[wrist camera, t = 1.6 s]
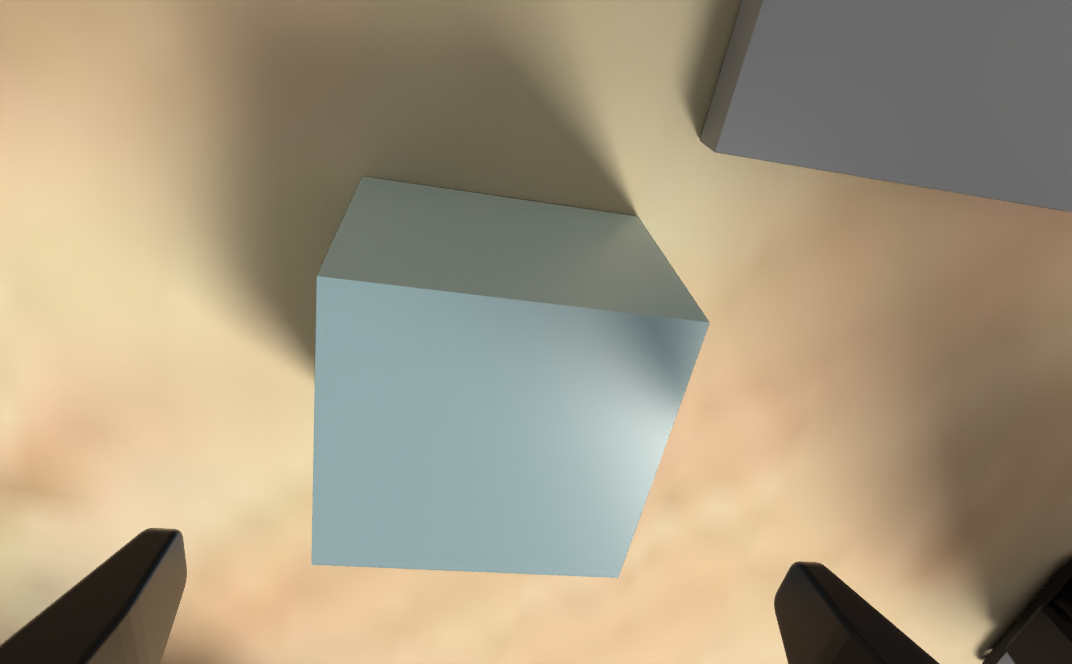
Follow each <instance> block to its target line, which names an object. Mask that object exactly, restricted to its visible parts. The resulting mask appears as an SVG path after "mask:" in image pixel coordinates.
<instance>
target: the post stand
mask: <svg viewBox="0 0 1072 664" xmlns="http://www.w3.org/2000/svg"><path fill="white" fill-rule="evenodd" d="M700 141H701V142H702V143H704V144H705V145H706V146H708V147H709V148H710V149H711V150H713V151H714V152H716V153H722V154H728V155H734V156H740V157H746V158H752V159H758V160H764V161H770V162H776V163H782V164H788V165H794V166H800V167H806V168H812V169H817V170H823V171H829V172H835V173H841V174H847V175H853V176H859V177H865V178H871V179H877V180H883V181H889V182H895V183H901V184H907V185H913V186H919V187H925V188H930V189H936V190H942V191H948V192H954V193H960V194H966V195H972V196H978V197H984V198H990V199H996V200H1002V201H1008V202H1014V203H1020V204H1026V205H1032V206H1037V207H1043V208H1049V209H1055V210H1061V211H1067V212H1072V0H742V2H741V5H740V8H739V12H738V15H737V18H736V22H735V25H734V28H733V32H732V35H731V38H730V42H729V45H728V48H727V51H726V55H725V58H724V61H723V65H722V68H721V71H720V75H719V78H718V81H717V85H716V88H715V91H714V95H713V98H712V101H711V104H710V108H709V111H708V114H707V118H706V121H705V124H704V128H703V131H702V134H701V138H700Z"/></svg>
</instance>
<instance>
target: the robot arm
mask: <svg viewBox="0 0 1072 664" xmlns="http://www.w3.org/2000/svg"><path fill="white" fill-rule="evenodd" d="M186 577H187V567H186V559H185V551H184V542H183V536H182V533H181V532H180V531H179V530H176V529H163V528H149V529H146V530H144V531H143V532H141V533H140V534H139V535H137V536H136V537H135V538H134V539H132V540H131V541H130V542H129V543H127V544H126V545H125V546H124V547H122V548H121V549H120V550H119V551H117V552H116V553H115V554H114V555H112V556H111V557H110V558H109V559H107V560H106V561H105V562H104V563H102V564H101V565H100V566H99V567H97V568H96V569H95V570H94V571H92V572H91V573H90V574H89V575H87V576H86V577H85V578H84V579H82V580H81V581H80V582H79V583H77V584H76V585H75V586H74V587H72V588H71V589H70V590H69V591H67V592H66V593H65V594H64V595H62V596H61V597H60V598H59V599H57V600H56V601H55V602H54V603H52V604H51V605H50V606H49V607H47V608H46V609H45V610H44V611H42V612H41V613H40V614H39V615H37V616H36V617H35V618H34V619H32V620H31V621H30V622H29V623H27V624H26V625H25V626H24V627H22V628H21V629H20V630H19V631H17V632H16V633H15V634H14V635H12V636H11V637H10V638H9V639H7V640H6V641H5V642H4V643H2V644H1V645H0V664H160V663H161V660H162V657H163V654H164V650H165V647H166V644H167V641H168V638H169V635H170V632H171V629H172V625H173V622H174V619H175V616H176V613H177V610H178V607H179V604H180V600H181V597H182V594H183V591H184V588H185V583H186ZM774 607H775V613H776V617H777V621H778V625H779V629H780V633H781V637H782V641H783V644H784V648H785V652H786V656H787V660H788V664H939V663H938V662H937V661H936V660H935V659H933V658H932V657H931V656H930V655H929V654H927V653H926V652H925V651H924V650H923V649H922V648H920V647H919V646H918V645H917V644H916V643H915V642H913V641H912V640H911V639H910V638H909V637H908V636H906V635H905V634H904V633H903V632H902V631H900V630H899V629H898V628H897V627H896V626H895V625H893V624H892V623H891V622H890V621H889V620H888V619H886V618H885V617H884V616H883V615H882V614H881V613H879V612H878V611H877V610H876V609H875V608H873V607H872V606H871V605H870V604H869V603H868V602H866V601H865V600H864V599H863V598H862V597H861V596H859V595H858V594H857V593H856V592H855V591H854V590H852V589H851V588H850V587H849V586H848V585H846V584H845V583H844V582H843V581H842V580H841V579H839V578H838V577H837V576H836V575H835V574H834V573H832V572H831V571H830V570H829V569H828V568H827V567H825V566H824V565H822V564H820V563H816V562H795V563H794V564H792V565H791V567H790V569H789V570H788V572H787V574H786V576H785V578H784V580H783V582H782V583H781V585H780V587H779V589H778V591H777V593H776V595H775V600H774ZM982 664H1072V560H1071V561H1069V562H1067V563H1066V564H1065V565H1064V566H1063V567H1062V569H1061V570H1060V571H1059V572H1058V573H1057V574H1056V576H1055V577H1054V578H1053V579H1052V580H1051V582H1050V583H1049V584H1048V585H1047V586H1046V588H1045V589H1044V590H1043V591H1042V592H1041V593H1040V595H1039V596H1038V597H1037V598H1036V599H1035V601H1034V602H1033V603H1032V604H1031V605H1030V607H1029V608H1028V609H1027V610H1026V611H1025V612H1024V614H1023V615H1022V616H1021V617H1020V618H1019V620H1018V621H1017V622H1016V623H1015V624H1014V626H1013V627H1012V628H1011V629H1010V630H1009V632H1008V633H1007V634H1006V635H1005V636H1004V637H1003V639H1002V640H1001V641H1000V642H999V643H998V645H997V646H996V647H995V648H994V649H993V651H992V652H991V653H990V654H989V655H988V656H987V658H986V659H985V660H984V661H983V663H982Z"/></svg>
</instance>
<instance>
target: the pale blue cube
mask: <svg viewBox="0 0 1072 664" xmlns="http://www.w3.org/2000/svg"><path fill="white" fill-rule="evenodd" d="M709 323H710V322H709V321H708V319H707V318H706V316H705V315H704V313H703V312H702V310H701V309H700V307H699V306H698V305H697V303H696V302H695V300H694V299H693V297H692V296H691V294H690V293H689V291H688V290H687V288H686V287H685V285H684V284H683V282H682V281H681V279H680V278H679V276H678V275H677V273H676V272H675V270H674V269H673V267H672V266H671V264H670V263H669V261H668V260H667V259H666V257H665V256H664V254H663V253H662V251H661V250H660V248H659V247H658V245H657V244H656V242H655V241H654V239H653V238H652V236H651V235H650V233H649V232H648V230H647V229H646V227H645V226H644V224H643V223H642V221H641V220H640V218H639V217H638V216H631V215H624V214H617V213H611V212H604V211H597V210H590V209H583V208H576V207H570V206H563V205H556V204H549V203H542V202H535V201H529V200H522V199H515V198H508V197H501V196H494V195H488V194H481V193H474V192H467V191H460V190H453V189H446V188H440V187H433V186H426V185H419V184H412V183H405V182H399V181H392V180H385V179H378V178H371V177H364V176H362V178H361V181H360V183H359V185H358V187H357V189H356V191H355V194H354V196H353V198H352V200H351V202H350V205H349V207H348V209H347V211H346V213H345V215H344V218H343V220H342V222H341V224H340V226H339V229H338V231H337V233H336V235H335V237H334V240H333V242H332V244H331V246H330V248H329V250H328V253H327V255H326V257H325V259H324V261H323V264H322V266H321V268H320V270H319V272H318V274H317V290H316V347H315V403H314V459H313V515H312V565H332V566H355V567H378V568H401V569H425V570H448V571H471V572H494V573H517V574H541V575H564V576H587V577H610V578H618V577H619V574H620V572H621V569H622V566H623V563H624V560H625V558H626V555H627V552H628V549H629V547H630V544H631V541H632V538H633V535H634V533H635V530H636V527H637V524H638V521H639V519H640V516H641V513H642V510H643V507H644V505H645V502H646V499H647V496H648V493H649V491H650V488H651V485H652V482H653V480H654V477H655V474H656V471H657V468H658V466H659V463H660V460H661V457H662V454H663V452H664V449H665V446H666V443H667V440H668V438H669V435H670V432H671V429H672V426H673V424H674V421H675V418H676V415H677V413H678V410H679V407H680V404H681V401H682V399H683V396H684V393H685V390H686V387H687V385H688V382H689V379H690V376H691V373H692V371H693V368H694V365H695V362H696V359H697V357H698V354H699V351H700V348H701V346H702V343H703V340H704V337H705V334H706V332H707V329H708V326H709Z"/></svg>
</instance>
